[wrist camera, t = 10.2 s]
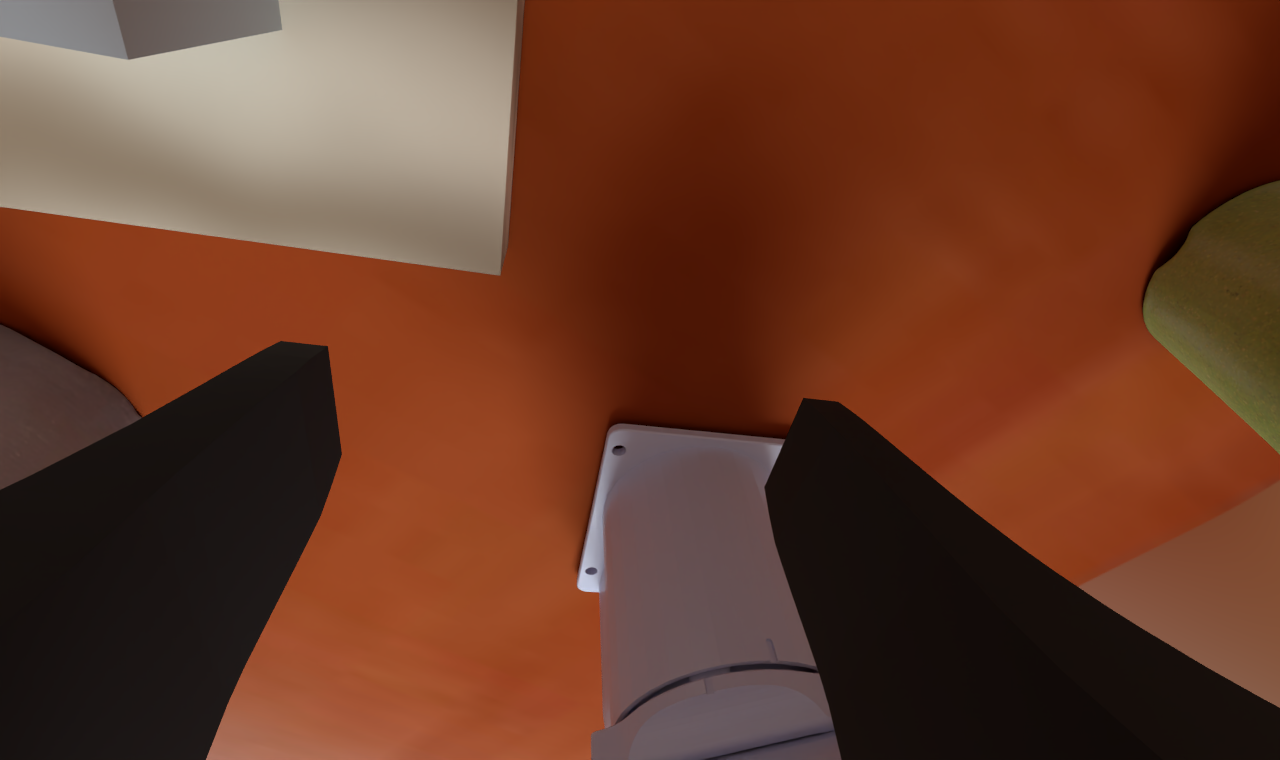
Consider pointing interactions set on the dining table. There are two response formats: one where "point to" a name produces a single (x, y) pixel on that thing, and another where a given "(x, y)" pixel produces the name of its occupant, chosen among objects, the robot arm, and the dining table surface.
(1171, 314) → the plant pot
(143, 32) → the grey block
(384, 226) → the birch base
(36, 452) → the pillar candle
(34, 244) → the dining table surface
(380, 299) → the dining table surface
